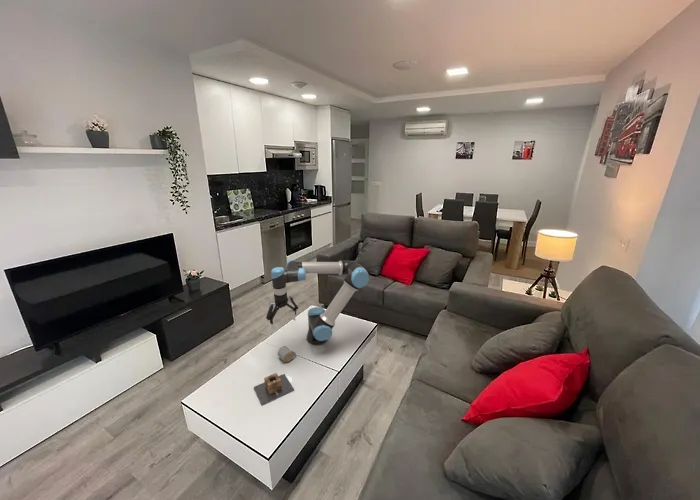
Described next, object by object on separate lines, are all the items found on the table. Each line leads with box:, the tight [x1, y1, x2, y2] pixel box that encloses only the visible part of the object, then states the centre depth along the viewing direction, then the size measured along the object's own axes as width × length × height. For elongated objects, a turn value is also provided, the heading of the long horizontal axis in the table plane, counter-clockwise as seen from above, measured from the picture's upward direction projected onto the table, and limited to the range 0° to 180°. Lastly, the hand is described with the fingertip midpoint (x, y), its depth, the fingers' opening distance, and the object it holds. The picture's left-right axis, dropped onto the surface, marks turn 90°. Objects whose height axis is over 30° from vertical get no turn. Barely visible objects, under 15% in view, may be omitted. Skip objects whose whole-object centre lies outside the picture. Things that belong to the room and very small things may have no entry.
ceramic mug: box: [277, 345, 297, 363], centre depth 183 cm, size 11×8×8 cm
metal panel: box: [253, 373, 295, 406], centre depth 159 cm, size 18×14×5 cm
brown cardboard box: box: [263, 372, 282, 395], centre depth 158 cm, size 7×7×6 cm
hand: (284, 323), depth 177 cm, fingers open, 13 cm apart
